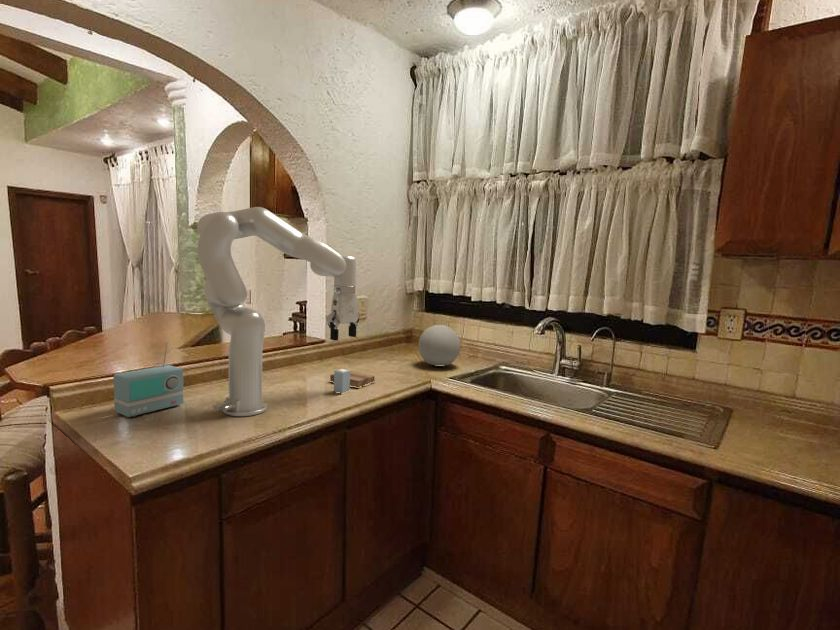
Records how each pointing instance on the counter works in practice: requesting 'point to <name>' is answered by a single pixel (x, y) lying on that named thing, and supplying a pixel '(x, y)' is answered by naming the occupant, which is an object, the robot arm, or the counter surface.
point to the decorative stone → (439, 345)
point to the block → (341, 380)
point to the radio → (148, 389)
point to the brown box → (357, 379)
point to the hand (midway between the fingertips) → (343, 338)
